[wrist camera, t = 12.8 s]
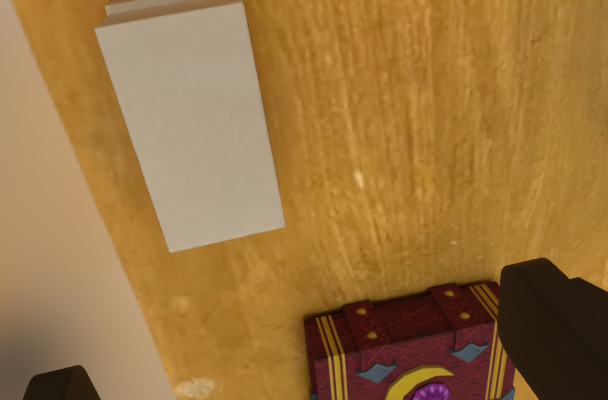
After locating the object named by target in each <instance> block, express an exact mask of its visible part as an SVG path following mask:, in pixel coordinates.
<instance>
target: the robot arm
mask: <svg viewBox="0 0 608 400" xmlns="http://www.w3.org/2000/svg"><path fill="white" fill-rule="evenodd" d="M497 330H498V335H499V339H500V342H501V344H502V346H503V349H504V351H505V352H506V354H507V356H508V357H509V359H510V360H511V361H512V363H513V364H514V365H515V367H516V368H517V370H518V371H519V372H520V374H521V375H522V377H523V378H524V379H525V381H526V382H527V384H528V385H529V386H530V388H531V389H532V391H533V392H534V393H535V395H536V396H537V398H538V399H539V400H608V292H607V291H605V290H603V289H601V288H599V287H597V286H595V285H593V284H591V283H589V282H587V281H585V280H583V279H581V278H579V277H577V278H573V279H569V278H568V277H567V276H566V275H565V274H564V273H563V272H562V271H561V270H559V269H558V268H557V267H556V266H555V265H554V264H553V263H552V262H551V261H550V260H548V259H546V258H537V259H533V260H528V261H524V262H520V263H516V264H511V265H507V266H505V267H503V269H502V271H501V277H500V290H499V302H498V315H497ZM23 400H101V399H100V397H99V395H98V393H97V391H96V389H95V388H94V386H93V384H92V382H91V380H90V378H89V376H88V374H87V372H86V370H85V369H84V368H83V367H82V366H80V365H76V366H72V367H68V368H64V369H59V370H56V371H51V372H47V373H43V374H38V375H35V376H34V377H33V378H32V379H31V380H30V382H29V385H28V387H27V390H26V392H25V395H24V398H23Z"/></svg>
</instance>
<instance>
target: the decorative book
mask: <svg viewBox="0 0 608 400" xmlns="http://www.w3.org/2000/svg"><path fill="white" fill-rule="evenodd" d="M499 290H500V286H499V285H498V284H497V283H496V282H490V283H485V284H480V285H475V286H470V287H465V288H459V287H458V286H457V284H452V285H447V286H442V287H437V288H432V289H430V293H429V295H426V296H421V297H416V298H411V299H406V300H401V301H397V302H392V303H387V304H382V305H377V306H373V305H372V303H371V301H367V302H363V303H358V304H353V305H348V306H343V313H338V314H333V315H328V316H323V317H318V318H313V319H308V320H303V321H304V329H305V338H306V346H307V355H308V363H309V372H310V380H311V389H309V390H310V399H311V400H513V399H514V392H515V388H514V386H513V380H514V374H515V368H516V367H515V365H514V364H513V363H512V361H511V360H510V359H509V357H508V356H507V354H506V352H505V351H504V349H503V346H502V344H501V342H500V339H499V335H498V330H497V315H498V302H499Z"/></svg>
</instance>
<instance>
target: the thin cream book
mask: <svg viewBox="0 0 608 400" xmlns="http://www.w3.org/2000/svg"><path fill="white" fill-rule="evenodd" d="M94 32H95V35H96V38H97V41H98V44H99V47H100V49H101V52H102V55H103V58H104V61H105V64H106V67H107V70H108V73H109V76H110V79H111V82H112V85H113V88H114V91H115V94H116V97H117V100H118V103H119V106H120V109H121V112H122V114H123V117H124V120H125V123H126V126H127V129H128V132H129V135H130V138H131V141H132V144H133V147H134V150H135V153H136V156H137V159H138V162H139V165H140V168H141V171H142V174H143V177H144V179H145V182H146V185H147V188H148V191H149V194H150V197H151V200H152V203H153V206H154V209H155V212H156V215H157V218H158V221H159V224H160V227H161V230H162V233H163V236H164V239H165V242H166V245H167V247H168V250H169V252H170V253H172V252H176V251H181V250H185V249H190V248H194V247H199V246H203V245H207V244H212V243H216V242H221V241H225V240H230V239H234V238H239V237H243V236H247V235H252V234H256V233H261V232H265V231H270V230H274V229H278V228H283V227H285V225H286V224H285V219H284V214H283V209H282V203H281V198H280V193H279V188H278V182H277V177H276V172H275V166H274V161H273V156H272V151H271V145H270V140H269V135H268V130H267V124H266V119H265V114H264V108H263V103H262V98H261V93H260V87H259V82H258V77H257V72H256V66H255V61H254V56H253V50H252V45H251V40H250V35H249V29H248V24H247V19H246V13H245V8H244V3H243V2H242V0H212V1H207V2H201V3H195V4H190V5H184V6H178V7H173V8H167V9H162V10H156V11H150V12H145V13H139V14H133V15H128V16H122V17H116V18H111V19H105V20H102V21H101V22H100V23H99V24H98V25H97V26H96V27H95V28H94Z"/></svg>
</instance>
